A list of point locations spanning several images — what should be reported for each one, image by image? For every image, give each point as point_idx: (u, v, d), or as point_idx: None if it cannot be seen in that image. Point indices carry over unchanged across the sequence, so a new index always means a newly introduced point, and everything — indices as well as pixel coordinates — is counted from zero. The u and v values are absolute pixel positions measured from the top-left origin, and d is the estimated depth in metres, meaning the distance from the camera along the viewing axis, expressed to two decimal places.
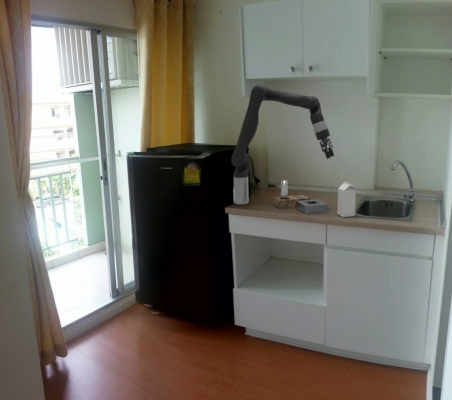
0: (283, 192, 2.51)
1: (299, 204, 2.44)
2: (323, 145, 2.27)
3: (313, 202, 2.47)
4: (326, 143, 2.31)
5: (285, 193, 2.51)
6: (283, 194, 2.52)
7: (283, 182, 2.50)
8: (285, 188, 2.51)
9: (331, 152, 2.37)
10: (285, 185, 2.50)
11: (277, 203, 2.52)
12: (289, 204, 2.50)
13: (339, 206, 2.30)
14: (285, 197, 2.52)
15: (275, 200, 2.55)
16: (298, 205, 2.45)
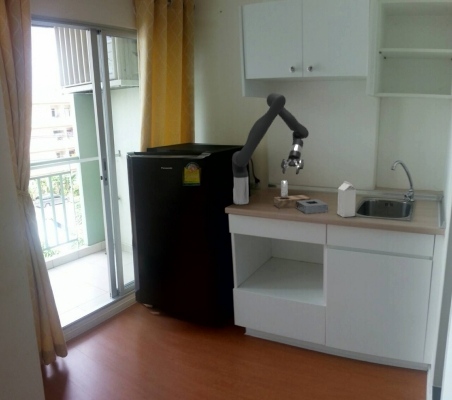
0: (283, 192, 2.51)
1: (299, 204, 2.44)
2: (303, 164, 2.62)
3: (313, 202, 2.47)
4: None
5: (285, 193, 2.51)
6: (283, 194, 2.52)
7: (283, 182, 2.50)
8: (285, 188, 2.51)
9: (284, 170, 2.64)
10: (285, 185, 2.50)
11: (277, 203, 2.52)
12: (289, 204, 2.50)
13: (339, 206, 2.30)
14: (285, 197, 2.52)
15: (275, 200, 2.55)
16: (298, 205, 2.45)
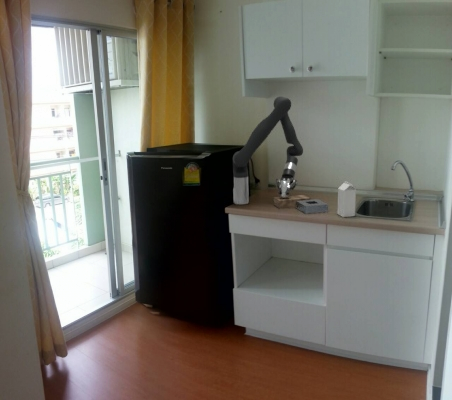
0: (283, 192, 2.51)
1: (299, 204, 2.44)
2: (295, 185, 2.53)
3: (313, 202, 2.47)
4: (290, 183, 2.55)
5: (285, 193, 2.51)
6: (283, 194, 2.52)
7: (283, 182, 2.50)
8: (285, 188, 2.51)
9: None
10: (285, 185, 2.50)
11: (277, 203, 2.52)
12: (289, 204, 2.50)
13: (339, 206, 2.30)
14: (285, 197, 2.52)
15: (275, 200, 2.55)
16: (298, 205, 2.45)
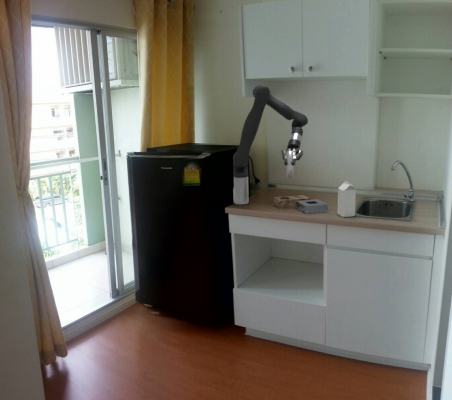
0: (289, 163, 2.46)
1: (299, 204, 2.44)
2: (301, 155, 2.47)
3: (313, 202, 2.47)
4: (296, 154, 2.50)
5: (291, 164, 2.46)
6: (289, 165, 2.46)
7: (289, 152, 2.44)
8: (291, 158, 2.45)
9: (286, 162, 2.48)
10: (291, 155, 2.44)
11: (277, 203, 2.52)
12: (289, 204, 2.50)
13: (339, 206, 2.30)
14: (291, 168, 2.46)
15: (275, 200, 2.55)
16: (298, 205, 2.45)
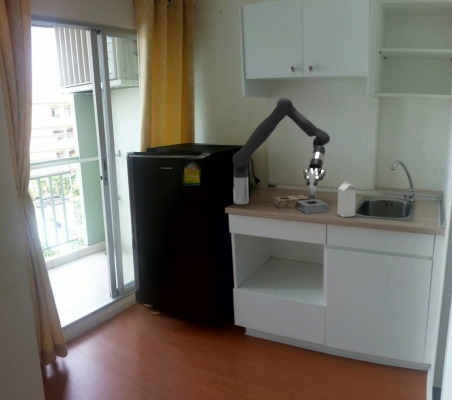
0: (311, 183, 2.39)
1: (299, 204, 2.44)
2: (323, 175, 2.40)
3: (313, 202, 2.47)
4: None
5: (313, 184, 2.39)
6: (311, 185, 2.39)
7: (311, 172, 2.38)
8: (313, 179, 2.38)
9: (308, 182, 2.41)
10: (313, 175, 2.38)
11: (277, 203, 2.52)
12: (289, 204, 2.50)
13: (339, 206, 2.30)
14: (313, 188, 2.40)
15: (275, 200, 2.55)
16: (298, 205, 2.45)
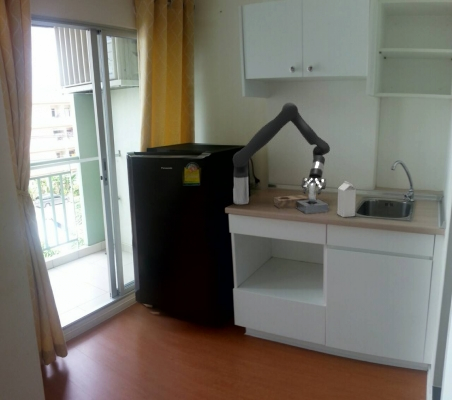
0: (311, 195, 2.41)
1: (299, 204, 2.44)
2: (325, 184, 2.42)
3: None
4: None
5: (313, 196, 2.41)
6: (311, 197, 2.41)
7: (311, 185, 2.39)
8: (313, 191, 2.40)
9: None
10: (313, 188, 2.40)
11: (277, 203, 2.52)
12: (289, 204, 2.50)
13: (339, 206, 2.30)
14: (313, 200, 2.41)
15: (275, 200, 2.55)
16: (298, 205, 2.45)
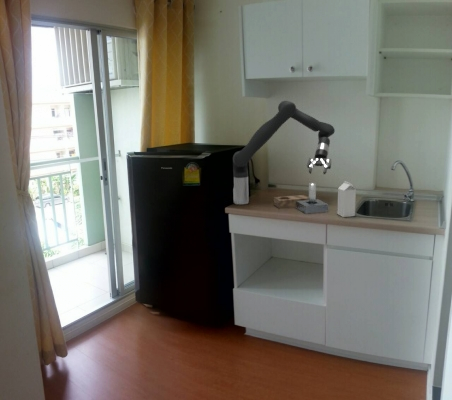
0: (311, 195, 2.41)
1: (299, 204, 2.44)
2: (330, 163, 2.51)
3: None
4: None
5: (313, 196, 2.41)
6: (311, 197, 2.41)
7: (311, 185, 2.39)
8: (313, 191, 2.40)
9: (311, 170, 2.53)
10: (313, 188, 2.40)
11: (277, 203, 2.52)
12: (289, 204, 2.50)
13: (339, 206, 2.30)
14: (313, 200, 2.41)
15: (275, 200, 2.55)
16: (298, 205, 2.45)
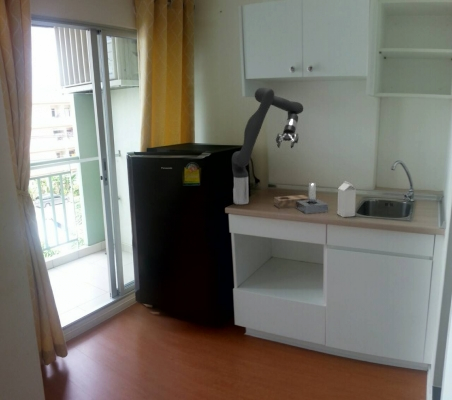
0: (311, 195, 2.41)
1: (299, 204, 2.44)
2: None
3: None
4: None
5: (313, 196, 2.41)
6: (311, 197, 2.41)
7: (311, 185, 2.39)
8: (313, 191, 2.40)
9: (279, 144, 2.67)
10: (313, 188, 2.40)
11: (277, 203, 2.52)
12: (289, 204, 2.50)
13: (339, 206, 2.30)
14: (313, 200, 2.41)
15: (275, 200, 2.55)
16: (298, 205, 2.45)
